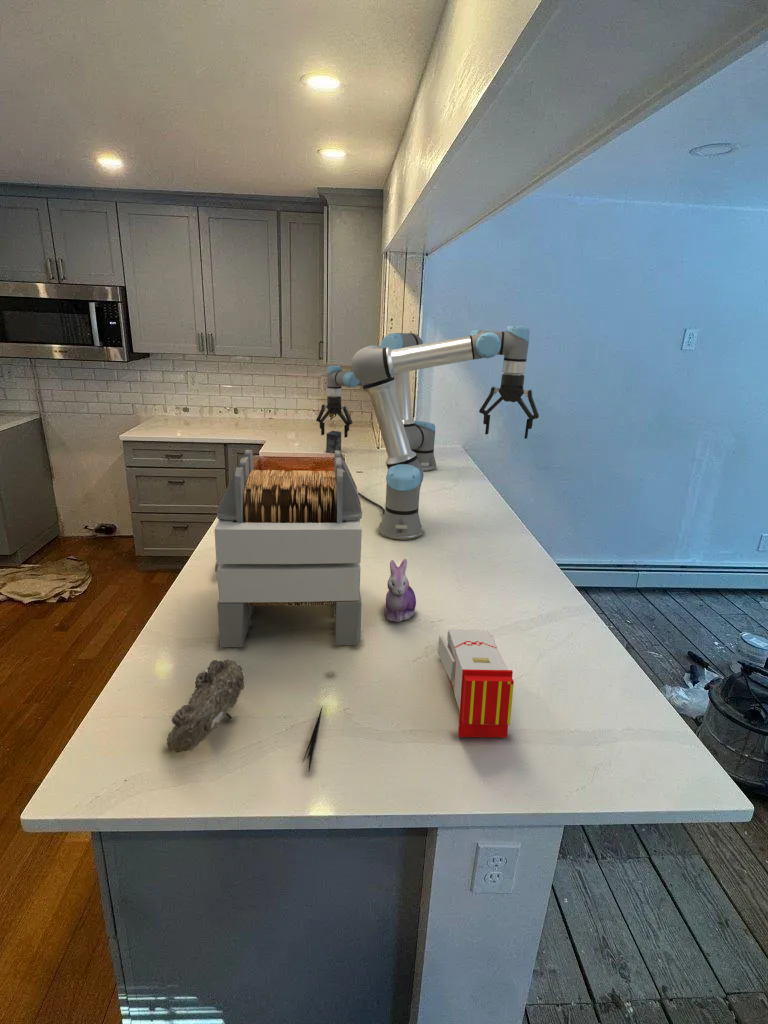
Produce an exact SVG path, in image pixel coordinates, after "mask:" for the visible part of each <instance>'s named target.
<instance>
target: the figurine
mask: <svg viewBox="0 0 768 1024" xmlns="http://www.w3.org/2000/svg"><path fill="white" fill-rule="evenodd" d="M407 567H408V559H406V558H404V559H403V560H402V561H401V563H400V565H399V566H398V565H397V563H396V562H395V561H394V560H393V559H391V560H390V561H389V570H390V576H389V578H388V579H387V589H388V591H387V592H386V594H385V595H386V596H385V607H384V615H385V616H386V620H387V621H391V622H395V623H400V622H402V621H406V620H409V619H410V618H411V617H413V616H414V615H415V610H416V606H417V597H416V593H415V591H414V590H413V587H411V586H410V582H409V579H408V577H407V574H406V571H407Z"/></svg>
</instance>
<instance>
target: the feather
mask: <svg viewBox="0 0 768 1024" xmlns="http://www.w3.org/2000/svg"><path fill="white" fill-rule="evenodd" d="M329 675H330V676H331V675H332V674H331V673H330V674H329ZM322 710H323V707H321V708H320V710H319V713H318V716H317V719H316V723H315V725H314V728H313V731H312V733H311V737H310V739H309V742H308V745H307V748H306V751H305V754H304V757H303V760H302V763H301V767H302V765H303V763H304V761H305V758H308V759H309V760H308V762H307V763H308V764H307V766H308V771H310V770H311V766H312V765H311V764H312V760H313V757H315V756H314V755H315V751H316V749H315V746H317V739H318V733H319V729H320V722H321V717H322V712H323V711H322ZM313 754H314V755H313ZM306 755H307V757H306Z"/></svg>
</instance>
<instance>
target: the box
mask: <svg viewBox="0 0 768 1024" xmlns="http://www.w3.org/2000/svg"><path fill="white" fill-rule="evenodd" d="M325 439H326V440H325V441H326V442H325V447H326V448H325V452H326V453H328V454H329V453H330V454H335V450H337V451H342V431H338V430H330V431H329V432H326V438H325Z"/></svg>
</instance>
